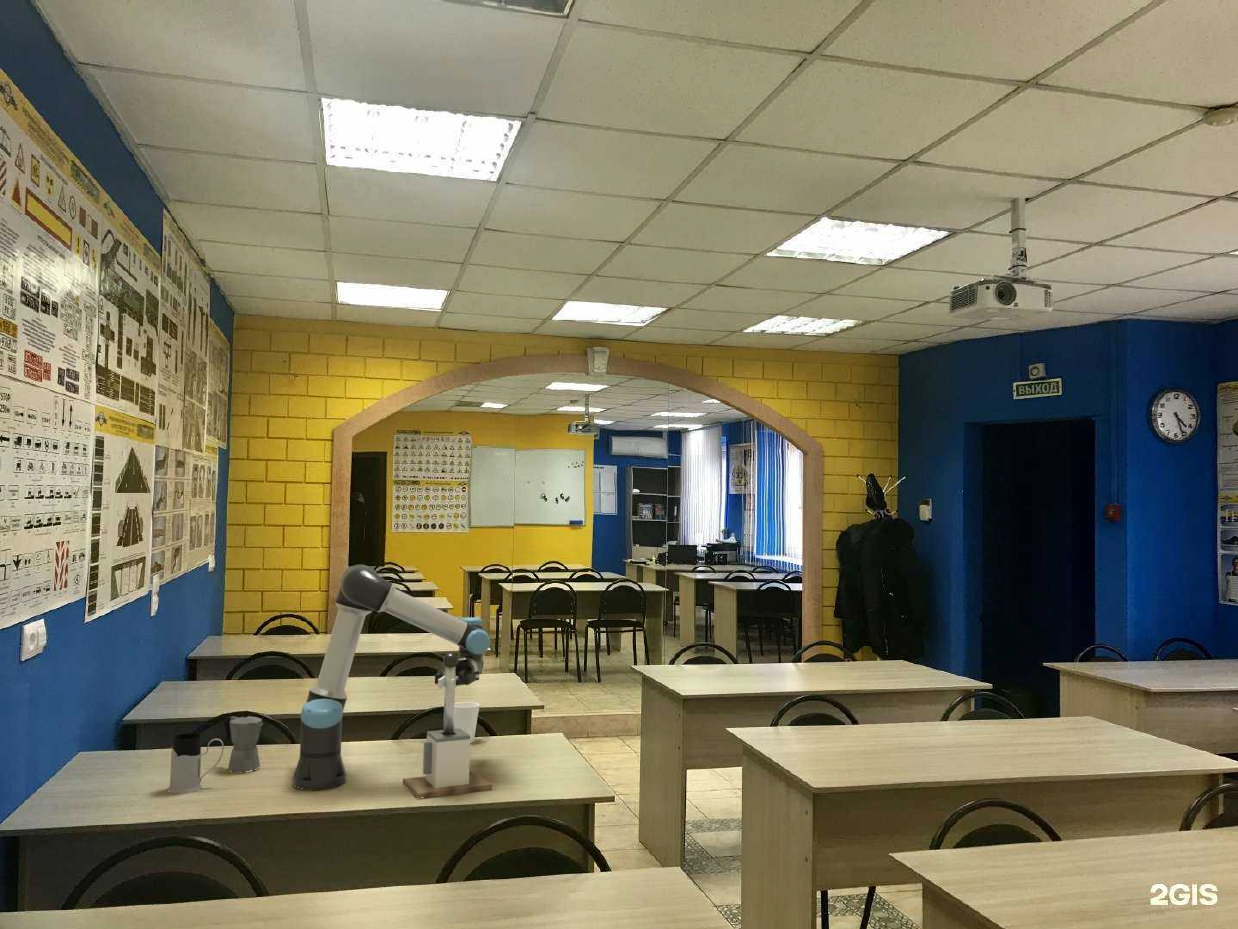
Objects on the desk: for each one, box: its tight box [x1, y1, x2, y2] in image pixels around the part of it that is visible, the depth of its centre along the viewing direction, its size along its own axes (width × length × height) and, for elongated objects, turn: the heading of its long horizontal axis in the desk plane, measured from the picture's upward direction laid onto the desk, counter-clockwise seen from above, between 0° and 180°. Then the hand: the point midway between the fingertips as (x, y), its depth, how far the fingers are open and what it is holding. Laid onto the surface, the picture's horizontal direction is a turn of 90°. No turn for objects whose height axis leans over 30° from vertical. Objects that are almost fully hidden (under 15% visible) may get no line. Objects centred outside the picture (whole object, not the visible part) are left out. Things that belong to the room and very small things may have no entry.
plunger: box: [442, 652, 459, 736], centre depth 273 cm, size 7×7×26 cm
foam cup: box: [454, 701, 480, 744], centre depth 325 cm, size 10×9×13 cm
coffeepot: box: [223, 710, 264, 773], centre depth 286 cm, size 15×9×18 cm, turn 67°
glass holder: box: [167, 732, 225, 795], centre depth 266 cm, size 9×14×15 cm, turn 111°
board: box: [402, 770, 493, 799], centre depth 272 cm, size 22×16×2 cm
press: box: [422, 728, 471, 788], centre depth 271 cm, size 12×10×14 cm
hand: (445, 684), depth 268 cm, fingers closed on plunger, 3 cm apart
